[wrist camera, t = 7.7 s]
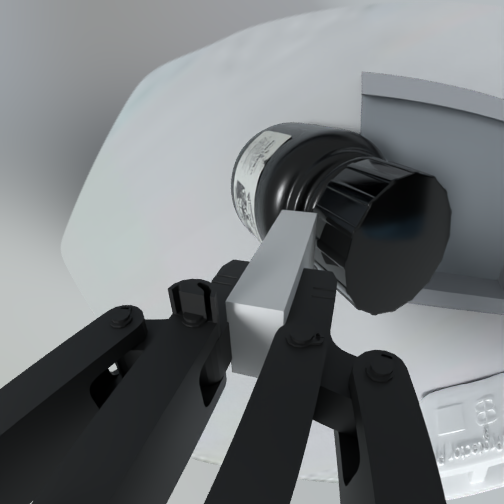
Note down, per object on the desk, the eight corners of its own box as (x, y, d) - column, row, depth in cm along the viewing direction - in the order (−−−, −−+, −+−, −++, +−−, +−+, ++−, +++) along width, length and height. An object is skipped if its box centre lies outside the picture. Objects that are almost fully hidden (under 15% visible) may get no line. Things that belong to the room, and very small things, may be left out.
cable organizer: (422, 432, 34) (418, 505, 24) (417, 387, 31) (415, 475, 21) (519, 407, 27) (531, 477, 17) (531, 356, 24) (555, 437, 14)
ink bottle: (217, 126, 20) (314, 149, 9) (332, 109, 22) (469, 131, 11) (240, 257, 24) (322, 366, 14) (339, 227, 26) (447, 300, 16)
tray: (543, 117, 15) (564, 122, 12) (503, 293, 23) (514, 315, 20) (361, 75, 20) (361, 71, 17) (347, 271, 28) (343, 293, 25)
